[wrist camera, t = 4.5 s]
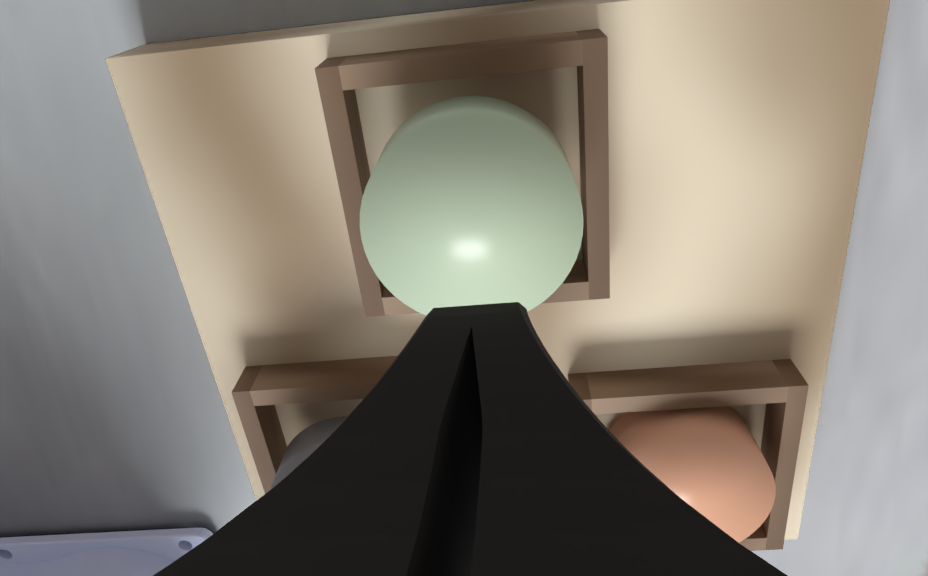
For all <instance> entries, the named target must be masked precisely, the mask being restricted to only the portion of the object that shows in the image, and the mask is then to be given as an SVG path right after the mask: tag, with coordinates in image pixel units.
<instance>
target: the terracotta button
mask: <svg viewBox="0 0 928 576" xmlns="http://www.w3.org/2000/svg"><path fill="white" fill-rule="evenodd" d="M609 431H610V432H611V433H612V434H613V435H614V436H615V437H616V438H617V439H618V440H619V441H620V443H621V444H622V445H623V446H624V447H625V448H626V449H627V450H629V451H630V452H631V453H632V454H633V455H634V456H635V457H636V458H637V459H638V460H639V461H640V462H641V463H642V464H643V465H644V466H645V467H646V468H647V469H648V470H649V471H650V472H652V473H653V474H654V475H655V476H656V477H657V478H658V479H659V480H661V481H662V482H663V483H664V484H665V485H666V486H667V487H668V488H670V489H671V490H672V491H673V492H674V493H675V494H676V495H678V496H679V497H680V498H681V499H682V500H684V501H685V502H686V503H688V504H689V505H690V506H692V507H693V508H694V509H695V510H697V511H698V512H699V513H701V514H702V515H703V516H704V517H706V518H707V519H708V520H710V521H711V522H712V523H714V524H715V525H716V526H717V527H719V528H720V529H721V530H723V531H724V532H725V533H727V534H728V535H729V536H730V537H732V538H733V539H734V540H736V541H737V542H738V543H739V542H741V541H743V540H744V539H746V538H747V537H749V536H750V535H751V534H753V533H754V532H755V531H756V530H757V529H758V528H759V527H760V526H761V525H762V523H763V522H764V521H765V520H766V518H767V517H768V515H769V513H770V512H771V509H772V507H773V504H774V500H775V495H776V486H775V480H774V477H773V474H772V472H771V470H770V468H769V466H768V464H767V462H766V460H765V458H764V456H763V454H762V452H761V450H760V448H759V446H758V444H757V442H756V440H755V438H754V436H753V434H752V432H751V430H750V428H749V426H748V425H747V423H746V421H745V420H744V419H743V417H742V416H741V415H740V414H739V413H738V412H737V411H736V410H734V409H733V408H732V407H730V406H719V407H703V408H687V409H671V410H655V411H639V412H626V413H625V414H624V415H622V416H621V417H620V418H619V419H618V420H617V421H616V422H615V423H614V424H613V425H612V427H611V428H610V429H609Z"/></svg>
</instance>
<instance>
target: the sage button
mask: <svg viewBox="0 0 928 576" xmlns="http://www.w3.org/2000/svg"><path fill="white" fill-rule="evenodd" d="M583 221H584V220H583V210H582V204H581V200H580V196H579V192H578V189H577V186H576V182H575V179H574V176H573V173H572V170H571V167H570V164H569V161H568V159H567V156H566V154H565V151H564V149H563V148H562V146H561V144H560V142H559V141H558V139H557V138H556V137H555V135H554V134H553V133H552V132H551V130H550V129H549V128H548V127H547V126H546V125H545V124H544V123H543V122H542V121H541V120H540V119H538V118H537V117H535V116H534V115H533V114H531V113H530V112H528V111H527V110H525V109H523V108H521V107H519V106H517V105H515V104H512V103H510V102H507V101H505V100H501V99H496V98H492V97H485V96H460V97H454V98H448V99H445V100H442V101H439V102H436V103H433V104H431V105H429V106H427V107H425V108H423V109H421V110H419V111H418V112H416V113H415V114H413V115H412V116H410V117H409V118H408V119H407V120H406V121H405V122H403V123H402V124H401V125H400V126H399V127H398V129H397V130H396V131H395V132H394V133H393V134H392V136H391V137H390V139H389V140H388V142H387V143H386V145H385V147H384V149H383V151H382V153H381V155H380V157H379V159H378V161H377V163H376V166H375V168H374V170H373V172H372V174H371V176H370V178H369V180H368V183H367V185H366V187H365V191H364V194H363V197H362V202H361V208H360V233H361V240H362V244H363V247H364V251H365V254H366V256H367V259H368V261H369V263H370V265H371V267H372V269H373V270H374V272H375V274H376V276H377V277H378V278H379V280H380V281H381V282H382V283H383V285H384V286H385V287H386V288H387V289H388V290H389V291H390V292H391V293H392V294H393V295H394V296H395V297H396V298H398V299H399V300H400V301H401V302H403V303H404V304H405V305H407V306H409V307H410V308H412V309H414V310H415V311H417V312H419V313H421V314H424V315H426V316H427V314H428V313H429V312H430V311H431V310H432V309H433V308H440V307H454V306H468V305H482V304H496V303H510V302H519V303H520V304H521V305H523V306H524V307H525V308H526V309H527V312H528V311H530V310H532V309H533V308H535V307H536V306H538V305H539V304H541V303H542V302H544V301H545V300H546V299H547V298H548V297H549V296H551V295H552V294H553V293H554V292H555V291H556V290H557V289H558V287H559V286H560V285H561V284H562V283H563V281H564V280H565V279H566V277H567V276H568V274H569V273H570V271H571V269H572V267H573V265H574V263H575V261H576V259H577V256H578V253H579V250H580V247H581V241H582V236H583Z"/></svg>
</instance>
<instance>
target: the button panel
mask: <svg viewBox="0 0 928 576" xmlns="http://www.w3.org/2000/svg"><path fill="white" fill-rule="evenodd" d="M889 4H890V0H534V1H525V2H517V3H508V4H499V5H490V6H481V7H472V8H463V9H454V10H446V11H437V12H428V13H419V14H410V15H401V16H392V17H383V18H374V19H366V20H357V21H348V22H339V23H330V24H321V25H312V26H303V27H295V28H286V29H277V30H268V31H259V32H250V33H241V34H232V35H223V36H215V37H206V38H197V39H188V40H179V41H170V42H161V43H152V44H144V45H142V46H139V47H136V48H133V49H131V50H128V51H125V52H122V53H120V54H117V55H114V56H111V57H108V58H106V59H105V60H106V63H107V65H108V68H109V71H110V74H111V77H112V80H113V83H114V86H115V89H116V92H117V95H118V98H119V100H120V103H121V106H122V109H123V112H124V115H125V118H126V121H127V124H128V127H129V130H130V133H131V136H132V138H133V141H134V144H135V147H136V150H137V153H138V156H139V159H140V162H141V165H142V168H143V171H144V173H145V176H146V179H147V182H148V185H149V188H150V191H151V194H152V197H153V200H154V203H155V206H156V208H157V211H158V214H159V217H160V220H161V223H162V226H163V229H164V232H165V235H166V238H167V241H168V243H169V246H170V249H171V252H172V255H173V258H174V261H175V264H176V267H177V270H178V273H179V276H180V279H181V281H182V284H183V287H184V290H185V293H186V296H187V299H188V302H189V305H190V308H191V311H192V314H193V316H194V319H195V322H196V325H197V328H198V331H199V334H200V337H201V340H202V343H203V346H204V349H205V351H206V354H207V357H208V360H209V363H210V366H211V369H212V372H213V375H214V378H215V381H216V384H217V387H218V389H219V392H220V395H221V398H222V401H223V404H224V407H225V410H226V413H227V416H228V419H229V422H230V424H231V427H232V430H233V433H234V436H235V439H236V442H237V445H238V448H239V451H240V454H241V457H242V459H243V462H244V465H245V468H246V471H247V474H248V477H249V480H250V483H251V486H252V489H253V492H254V494H255V497H256V500H258V499H259V498H261V497H262V496H263V495H265V494H266V493H267V492H268V491H270V489H271V486H272V484H273V481H274V478H275V476H276V473H277V471H278V468H279V465H280V463H281V460H282V458H283V455H284V453H285V451H286V449H287V447H288V445H289V444H290V442H291V441H292V440H293V438H294V437H295V436H297V435H298V434H299V433H300V432H301V431H303V430H304V429H305V428H307V427H309V426H311V425H313V424H315V423H317V422H320V421H323V420H326V419H330V418H334V417H342V416H348V415H349V414H350V413H351V412H352V411H353V410H354V409H355V408H356V406H357V405H358V404H359V403H360V402H361V401H362V400H363V399H364V398H365V396H366V395H367V394H368V393H369V392H370V390H371V389H372V388H373V387H374V386H375V384H376V383H377V382H378V381H379V379H380V378H381V377H382V375H383V374H384V373H385V372H386V370H387V369H388V368H389V367H390V365H391V364H392V363H393V362H394V360H395V359H396V358H397V356H398V355H399V354H400V352H401V351H402V350H403V348H404V347H405V345H406V344H407V343H408V341H409V340H410V338H411V337H412V336H413V334H414V333H415V331H416V330H417V328H418V327H419V326H420V324H421V323H422V321H423V320H424V318H425V317H426V315H424V314H421V313H419V312H417V311H415V310H414V309H412V308H410V307H409V306H407V305H405V304H404V303H403V302H401V301H400V300H399V299H398V298H396V297H395V296H394V295H393V294H392V293H391V292H390V291H389V290H388V289H387V288H386V287H385V286H384V285H383V283H382V282H381V281H380V280H379V278H378V277H377V276H376V274H375V272H374V270H373V269H372V267H371V265H370V263H369V261H368V259H367V256H366V254H365V251H364V247H363V244H362V240H361V233H360V208H361V202H362V197H363V194H364V191H365V187H366V185H367V183H368V180H369V178H370V176H371V174H372V172H373V170H374V168H375V166H376V163H377V161H378V159H379V157H380V155H381V153H382V151H383V149H384V147H385V145H386V143H387V142H388V140H389V139H390V137H391V136H392V134H393V133H394V132H395V131H396V130H397V129H398V127H399V126H400V125H401V124H402V123H403V122H405V121H406V120H407V119H408V118H409V117H410V116H412V115H413V114H415V113H416V112H418V111H419V110H421V109H423V108H425V107H427V106H429V105H431V104H433V103H436V102H439V101H442V100H445V99H448V98H454V97H460V96H485V97H492V98H496V99H501V100H505V101H507V102H510V103H512V104H515V105H517V106H519V107H521V108H523V109H525V110H527V111H528V112H530V113H531V114H533V115H534V116H535V117H537V118H538V119H540V120H541V121H542V122H543V123H544V124H545V125H546V126H547V127H548V128H549V129H550V130H551V132H552V133H553V134H554V135H555V137H556V138H557V139H558V141H559V142H560V144H561V146H562V148H563V149H564V151H565V154H566V156H567V159H568V161H569V164H570V167H571V170H572V173H573V176H574V179H575V182H576V186H577V189H578V192H579V196H580V200H581V204H582V210H583V220H584V221H583V236H582V241H581V247H580V250H579V253H578V256H577V259H576V261H575V263H574V265H573V267H572V269H571V271H570V273H569V274H568V276H567V277H566V279H565V280H564V281H563V283H562V284H561V285H560V286H559V287H558V289H557V290H556V291H555V292H554V293H553V294H552V295H551V296H549V297H548V298H547V299H546V300H545V301H544V302H542V303H541V304H539V305H538V306H536V307H535V308H533V309H532V310H530V311H528V312H527V313H528V316H529V318H530V321H531V323H532V325H533V327H534V329H535V331H536V333H537V335H538V337H539V338H540V340H541V342H542V343H543V345H544V347H545V348H546V350H547V352H548V353H549V355H550V356H551V358H552V359H553V361H554V362H555V364H556V365H557V366H558V368H559V369H560V371H561V372H562V373H563V375H564V376H565V378H566V379H567V380H568V382H569V383H570V385H571V386H572V387H573V388H574V390H575V391H576V392H577V393H578V395H579V396H580V397H581V399H582V400H583V401H584V402H585V403H586V405H587V406H588V407H589V408H590V409H591V410H592V412H593V413H594V414H595V415H596V416H597V418H598V419H599V420H600V421H601V422H602V423H603V424H604V425H605V427H606V428H607V429H608V430H609V429H610V428H611V427H612V425H613V424H614V423H615V422H616V421H617V420H618V419H619V418H620V417H621V416H622V415H624V414H625V413H626V412H639V411H655V410H671V409H687V408H703V407H719V406H730V407H732V408H733V409H734V410H736V411H737V412H738V413H739V414H740V415H741V416H742V417H743V419H744V420H745V421H746V423H747V425H748V426H749V428H750V430H751V432H752V434H753V436H754V438H755V440H756V442H757V444H758V446H759V448H760V450H761V452H762V454H763V456H764V458H765V460H766V462H767V464H768V466H769V468H770V470H771V472H772V474H773V477H774V480H775V486H776V495H775V500H774V504H773V507H772V509H771V512H770V513H769V515H768V517H767V518H766V520H765V521H764V522H763V523H762V525H761V526H760V527H759V528H758V529H757V530H756V531H755V532H754V533H753V534H751V535H750V536H749V537H747V538H746V539H744V540H743V541H741V542H739V543H740V544H741V545H742V546H744V547H745V548H747V549H748V550H750V551H753V550H775V549H783V544H784V540H787V539H798V533H799V527H800V521H801V516H802V510H803V504H804V498H805V492H806V487H807V481H808V475H809V469H810V463H811V458H812V452H813V446H814V440H815V434H816V429H817V423H818V417H819V411H820V405H821V399H822V394H823V388H824V382H825V376H826V370H827V365H828V359H829V353H830V347H831V341H832V336H833V330H834V324H835V318H836V312H837V307H838V301H839V295H840V289H841V283H842V277H843V272H844V266H845V260H846V254H847V248H848V243H849V237H850V231H851V225H852V219H853V214H854V208H855V202H856V196H857V190H858V185H859V179H860V173H861V167H862V161H863V155H864V150H865V144H866V138H867V132H868V126H869V121H870V115H871V109H872V103H873V97H874V92H875V86H876V80H877V74H878V68H879V63H880V57H881V51H882V45H883V39H884V33H885V28H886V22H887V16H888V10H889Z"/></svg>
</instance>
